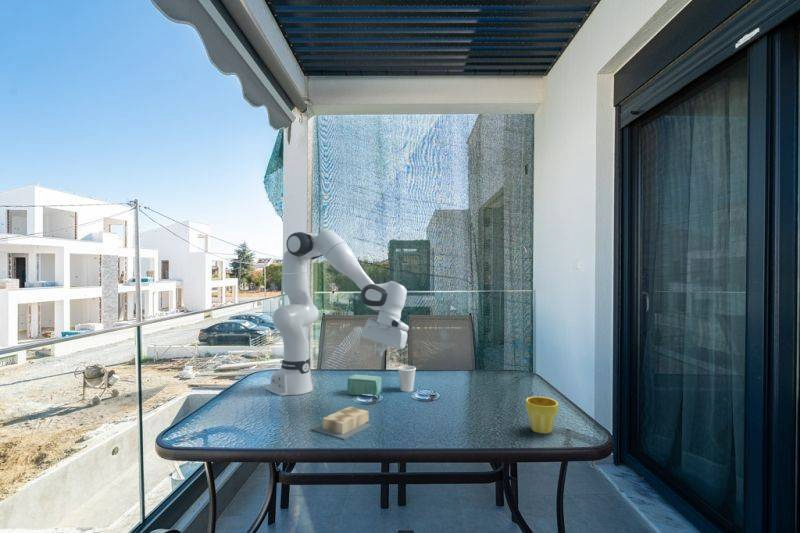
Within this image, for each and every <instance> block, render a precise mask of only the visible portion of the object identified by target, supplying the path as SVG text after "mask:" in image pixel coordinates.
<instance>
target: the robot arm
mask: <svg viewBox="0 0 800 533" xmlns="http://www.w3.org/2000/svg"><path fill="white" fill-rule="evenodd" d="M285 245H286V249H287V250H286V251H285V252H284V254H283V258H282V266H281V267H282V291H283V293H284V294H285V295H286V296H287V298H288V300H289V302H290V304H287V305H286V304H285V305H283V306H281V307H279V308H277V309H275V311H274V312H273V313H272V314H273V315H272V323H273V326H274V327H275V328H276V329H277V330H278V331H279V332H280V335H281V337H282V343H283V359H282V360H280V361H279V362H280V363H279V364H281V367H279V369H278V370H276V371H275V372H274V373H272V375H271V377H270V384H268V385H266V386H264V388H265V390H266V391H269V392H271V393H273V394H276V395H278V396H280V397H281V396H282V397H283V396H297V395H305V394H308V393H310V392H312V391H313V390H314V383H313V380H312V373H311V368H310V367H311V358H310V341H309V339H308V338H307V337H306V336H305V334H304V330H303V329H304V328H306V327H308V326H311V325H312V324H314V323H315V322H316V321H317V320H318V318H319V309H318V308H317V306H316V305H315V303H313V299H312V298H311V295H310V291H309V279H308V278H309V276H308V262H309V261H310V260H315V259H318V258H320V257H324V258H325V260H326V261H327V262H328V264H330V266H332V267H333V268H334V269H335V270H336V271H337V272H339V273H341V274H343V275H345V276H346V277H348V278H349V279H350V280H352V281H353V282H354V283H355V285H356V286H357V287H358V288H359V290H361V292H360V295H359V296H360V300H361V302H362V304H364V306H366V307H368V308H369V309H371V310H372V311H373V312H376V313H378V315H377V318H376V317H373V316H371V317H369V318H367V320H366V323H365V324H364V327H363V330H362V332H361V338H362V339H365V340H369V341H371V342H374V349H375V350H374V355H376V356H380V357H383V355H384V352H385V351H386V350H387V349H388V347H391V348H395V349H397V350H401V351H402V350H404V349H405V347H406V345H407V341H408V331H409V329H410V327H409V325H408V324H406V323H404V321H402V320H401V317H402V311H403V309H404V307H405V303H406V299H407V294H408V290H407V288H406V286H404V284H402V283H400V282H397V281H395V280H390V281H387V282H385V283H375V282H374V281H373V280H372V279H371V278H370V276H369V275H368V274H367V273H366V271H365V270H364V269H363V268H362V265H360V263H359V260H358V259H357V257H356V255H355V252H354V251H353V250H352V249H351V247H350V246H349V244H347V242H346V241H345V240H344V239H343V238H342V237H341V236H340V235H339V234H338V233H337V232H335V231H334V230H332V229H324V230H321V231H320V232H319V233H316V232H312V231H310V232H309V231H307V232H304V231H296V232H293V233H291V234H289V236H288V237H287V239H286V244H285ZM380 346H381V348H380Z"/></svg>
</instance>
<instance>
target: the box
mask: <svg viewBox="0 0 800 533" xmlns="http://www.w3.org/2000/svg"><path fill="white" fill-rule="evenodd" d="M382 382H383V381H382V377H381V376H376V375H367V374H366V375H365V374H364V375H363V374H352V375H350V376H349V377H347V395H348V396H349V395H352V396H359V395H362V394H372V395H378V394H379V395H380V394H381V393H382V385H383V384H382ZM379 395H378V396H379Z"/></svg>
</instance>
